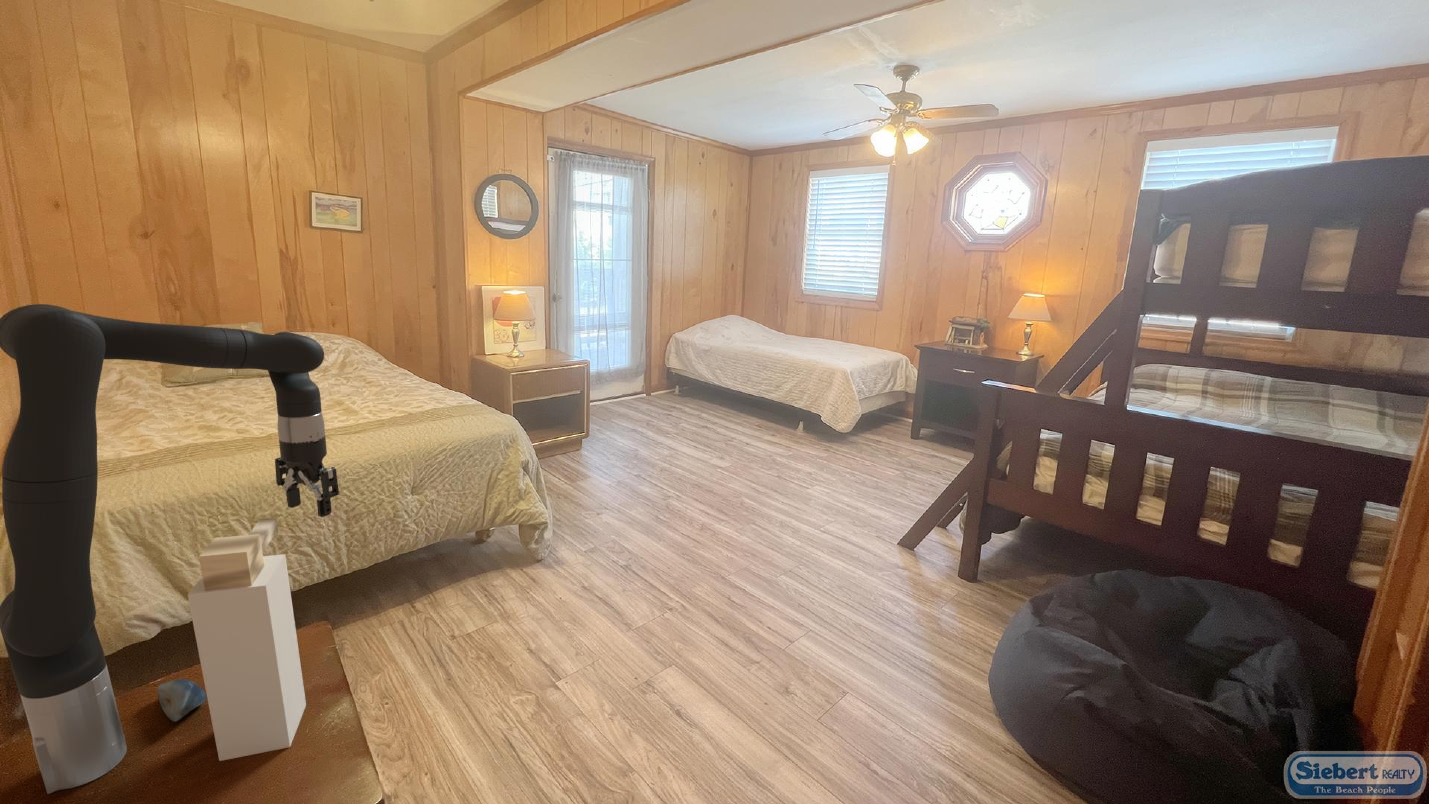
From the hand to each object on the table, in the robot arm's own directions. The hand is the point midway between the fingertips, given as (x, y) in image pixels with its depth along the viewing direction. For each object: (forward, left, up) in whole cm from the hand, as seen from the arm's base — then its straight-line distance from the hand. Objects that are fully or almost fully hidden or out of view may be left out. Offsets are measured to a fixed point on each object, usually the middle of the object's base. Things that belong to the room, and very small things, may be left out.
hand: (309, 510), depth 119 cm
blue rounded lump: (-24, -1, -32) cm, 40 cm away
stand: (-15, -18, -32) cm, 40 cm away
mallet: (-13, -14, 0) cm, 19 cm away
